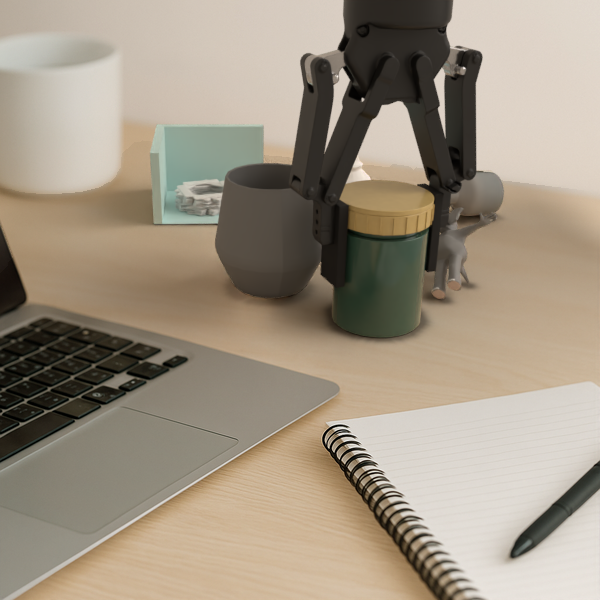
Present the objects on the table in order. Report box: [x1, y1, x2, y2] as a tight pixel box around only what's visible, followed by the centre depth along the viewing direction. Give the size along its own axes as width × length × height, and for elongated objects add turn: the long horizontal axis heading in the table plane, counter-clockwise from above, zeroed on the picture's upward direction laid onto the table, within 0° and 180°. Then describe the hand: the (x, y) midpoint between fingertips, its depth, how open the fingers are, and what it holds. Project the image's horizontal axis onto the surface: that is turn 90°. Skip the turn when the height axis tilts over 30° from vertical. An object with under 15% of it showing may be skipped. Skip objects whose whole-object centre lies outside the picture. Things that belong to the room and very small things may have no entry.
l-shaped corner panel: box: [149, 123, 265, 225], centre depth 90 cm, size 12×12×8 cm
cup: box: [214, 162, 322, 299], centre depth 70 cm, size 10×9×10 cm
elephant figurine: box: [430, 208, 498, 300], centre depth 73 cm, size 10×6×9 cm
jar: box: [331, 227, 429, 339], centre depth 65 cm, size 7×7×10 cm
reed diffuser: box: [450, 169, 505, 217], centre depth 86 cm, size 10×7×20 cm
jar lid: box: [340, 179, 435, 236], centre depth 63 cm, size 8×8×2 cm
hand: (378, 272), depth 66 cm, fingers closed on jar lid, 7 cm apart
